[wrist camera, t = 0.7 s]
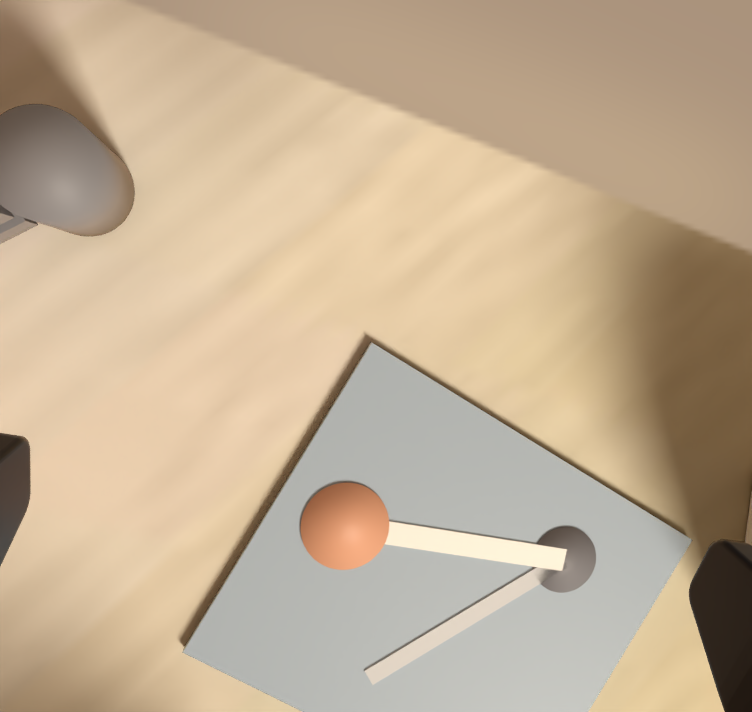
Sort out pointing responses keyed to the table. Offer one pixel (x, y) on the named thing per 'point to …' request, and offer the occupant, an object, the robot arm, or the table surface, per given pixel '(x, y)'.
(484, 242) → the table surface
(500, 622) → the card
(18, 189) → the orange grey t-shaped piece
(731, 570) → the robot arm
